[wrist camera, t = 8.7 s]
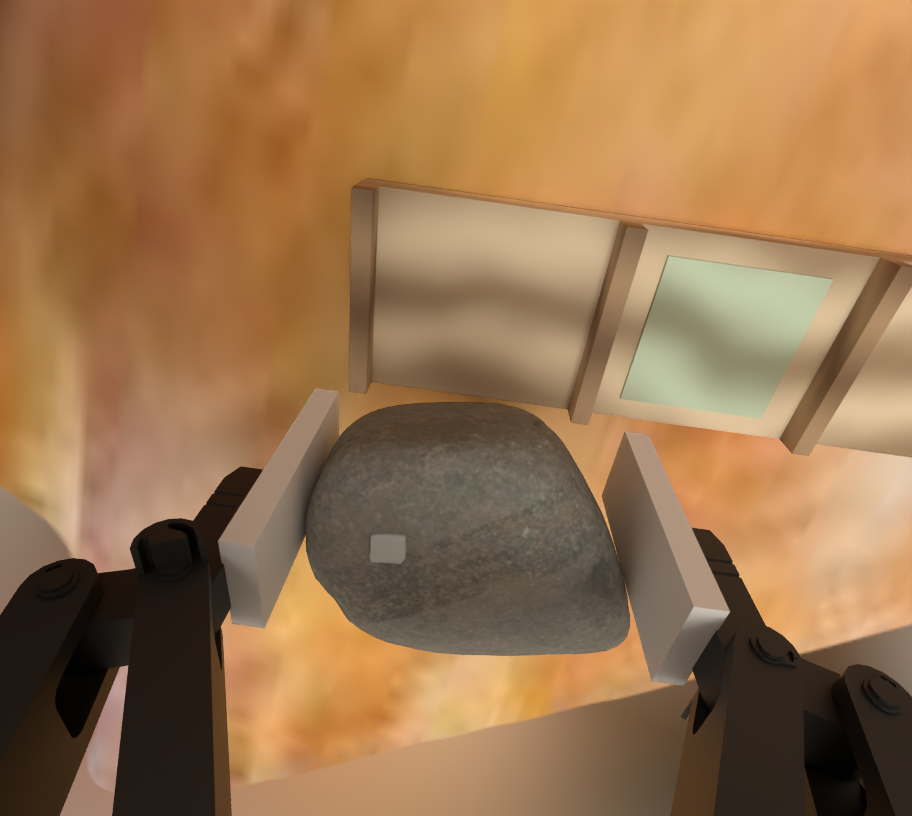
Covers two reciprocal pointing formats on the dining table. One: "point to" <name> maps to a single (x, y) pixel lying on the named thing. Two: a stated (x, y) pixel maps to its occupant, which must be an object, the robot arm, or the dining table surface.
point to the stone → (465, 535)
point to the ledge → (630, 317)
